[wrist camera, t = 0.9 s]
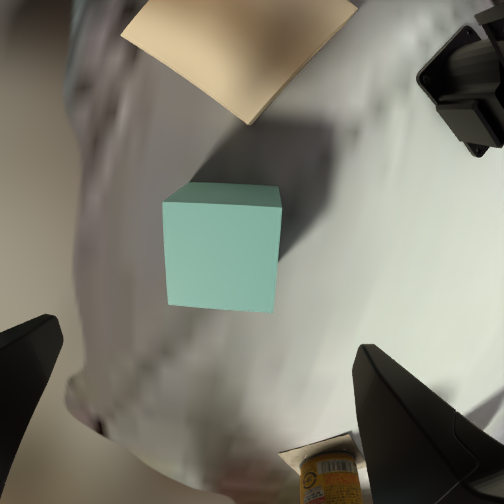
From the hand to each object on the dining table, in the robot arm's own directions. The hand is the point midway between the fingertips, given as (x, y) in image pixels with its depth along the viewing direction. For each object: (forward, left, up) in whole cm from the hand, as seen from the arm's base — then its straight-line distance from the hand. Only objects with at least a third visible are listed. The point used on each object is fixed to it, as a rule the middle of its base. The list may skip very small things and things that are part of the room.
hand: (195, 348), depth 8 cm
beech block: (-9, -7, -11) cm, 16 cm away
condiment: (+13, +23, -11) cm, 29 cm away
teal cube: (0, 0, -11) cm, 11 cm away
